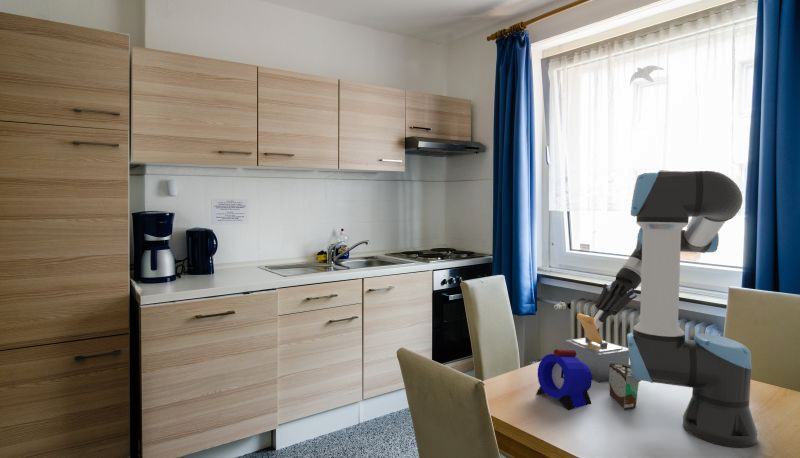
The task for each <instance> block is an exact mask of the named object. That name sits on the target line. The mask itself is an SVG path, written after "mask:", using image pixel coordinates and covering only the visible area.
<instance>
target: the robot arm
mask: <svg viewBox="0 0 800 458" xmlns="http://www.w3.org/2000/svg"><path fill="white" fill-rule="evenodd" d="M636 177H637V178H636V179H635V184H634V189H633V194H632V199H631V206H630V207H631V208H630V216H632V217H636V224H637V226H639V227H640V228H639V230H638V233H637V240H636V246H635V248H634V251H633V252H632V253H631V254H630V256H629V257H628V258H627V259H626V261H625V262H624V263H623V265H622V267H621V268H620V269H619V271H618V272H617V273H616V275H615V280H614V281H612V282H611V283H610V284H606V283H604V284H603V286H602V291H601V293H600V295H599V296H598V299H597V301H596V303H595V305H594V307H596V309H597V311H596V312H595V313H594V314H593V316H592V317H593V318H594V324H595V326H596V329H597V330H598V329H599V328H600V327H601V325H602V324H603V323H604V322H605V321H606V320H607V319H608V317H609V316H616V315H617V314H618V313H620V311H622V310H623V309H624V308H625V307H626V306H627V305H628V304H629V303H630V302H631V301H633V300H634V299H636V298H637V297H638V295H637V294H636V293H635V292H634V291H635V290H636V289H637V288H638V287H639V286H640V312H639V315H640V317H639V322H637V323H636V324H634V326H633V329H632V330H633V332H628V333H627V335H626V338H627V350H629V365H630V366H631V373H632V375H633V377H634V378H636V379H638V380H641V381H643V382H648V383H651V384H654V383H656V384H662V385H668V386H669V385H671V386H676V387H677V386H679V387H684V388H692V393H691V397H690V400H689V401H688V404H687V406H686V408H685V411H684V413H683V416H682V425H683V428H684V429H685V430H686V431H687V432H688V433H689V434H691V435H693V436H694V437H697V438H699V439H701V440H704V441H706V442H709V443H713V444H716V445H719V446H723V447H724V446H725V447H729V448H730V447H732V448H747V447H752V446H754V445H756V444H757V442H758V430H757V427H756V424H755V421H754V418H753V414H752V412H751V408H750V398H751V379H752V369H753V365H752V364H753V363H752V352H751V350H750V349H749V348H748V347H747V346H746V345H745V344H743V343H742V342H739V341H737V340H734V339H731V338H728V337H725V336H720V335H716V334H710V333H696V334H695V335H694V337H693V339H687V338H685V337H686V336H685V335H686V332H685V331H684V330H683V329H682V328H681V327H680V326H679V305H680V303H679V302H680V278H681V277H680V275H681V274H680V271H681V253H682V252H684V253H685V252H686V253H701V254H705V253H715V252H716V251H717V250H718V247H719V241H720V240H719V233H718V232H719V231H720V230H721V228H722V227H723V225H724V224H725V223H726V222H727V221H729V220H731V219H733V218H734V217H735V216H736V215H737V214H738V213H739V211H740V210H741V208H742V205H743V194H742V190H741V189H740V188H739V186H738V184H736V182H735V181H734V180H732V178H730V177H729V176H727V175H725V174H724V173H721V172H719V171H715V170H710V169H658V170H647V171H646V170H645V171H642V172H640V173H639V174H638V175H637V176H636ZM689 217H691V219H690V220H689Z"/></svg>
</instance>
